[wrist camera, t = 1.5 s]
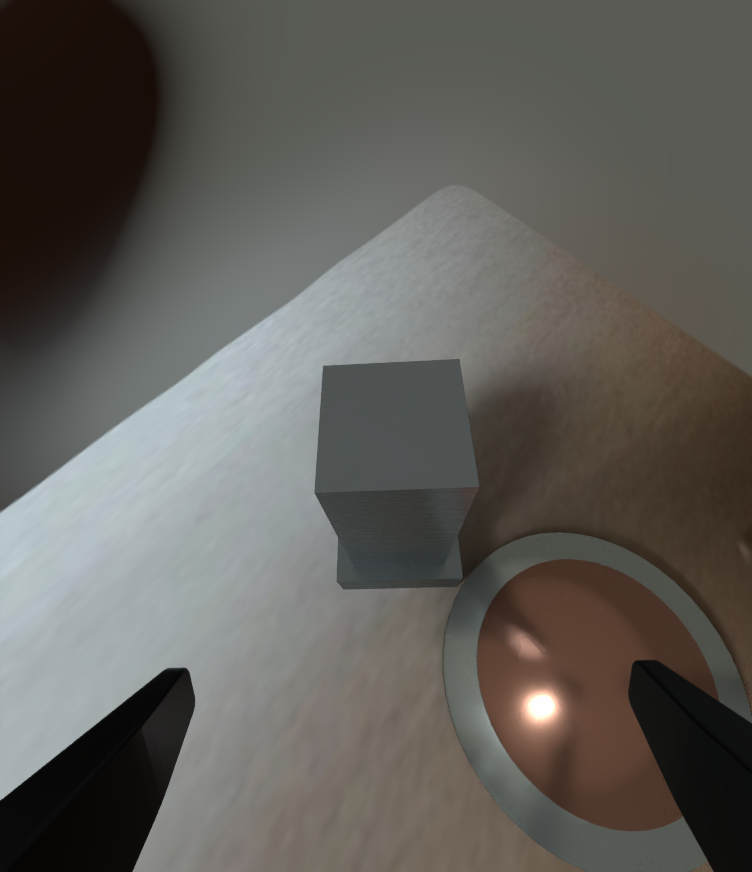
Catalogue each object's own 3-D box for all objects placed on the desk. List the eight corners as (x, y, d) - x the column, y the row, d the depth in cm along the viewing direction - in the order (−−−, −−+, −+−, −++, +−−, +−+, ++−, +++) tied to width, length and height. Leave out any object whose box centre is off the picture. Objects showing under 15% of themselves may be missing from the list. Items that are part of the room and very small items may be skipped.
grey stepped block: (456, 586, 20) (512, 512, 10) (343, 589, 21) (284, 520, 10) (444, 481, 23) (478, 341, 13) (346, 485, 24) (302, 350, 13)
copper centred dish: (744, 956, 14) (775, 983, 13) (402, 765, 17) (402, 773, 16) (737, 594, 19) (758, 590, 18) (483, 502, 23) (487, 494, 21)
